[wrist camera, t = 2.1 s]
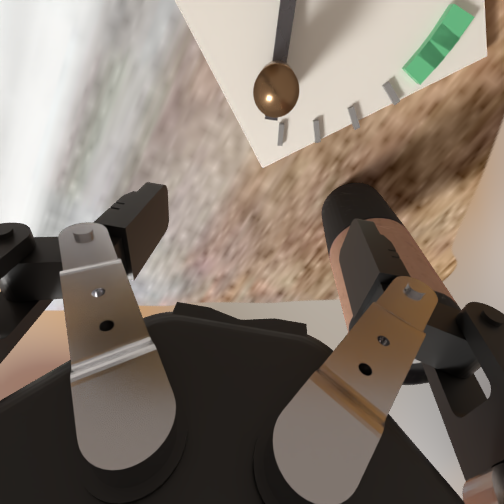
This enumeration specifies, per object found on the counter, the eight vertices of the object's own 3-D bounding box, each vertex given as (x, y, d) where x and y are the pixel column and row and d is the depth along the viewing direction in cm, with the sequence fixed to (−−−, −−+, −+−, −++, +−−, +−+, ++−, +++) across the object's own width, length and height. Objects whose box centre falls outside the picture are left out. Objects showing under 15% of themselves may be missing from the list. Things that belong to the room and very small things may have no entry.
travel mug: (396, 188, 32) (514, 332, 16) (366, 241, 37) (434, 393, 21) (332, 173, 31) (389, 306, 16) (310, 228, 36) (336, 375, 20)
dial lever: (276, -113, 18) (276, -182, 13) (330, -105, 18) (354, -170, 13) (252, 115, 27) (246, 134, 21) (289, 120, 27) (293, 140, 21)
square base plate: (153, -50, 22) (142, -59, 20) (452, -331, 15) (477, -384, 13) (265, 167, 32) (264, 174, 30) (477, 61, 24) (493, 63, 23)
